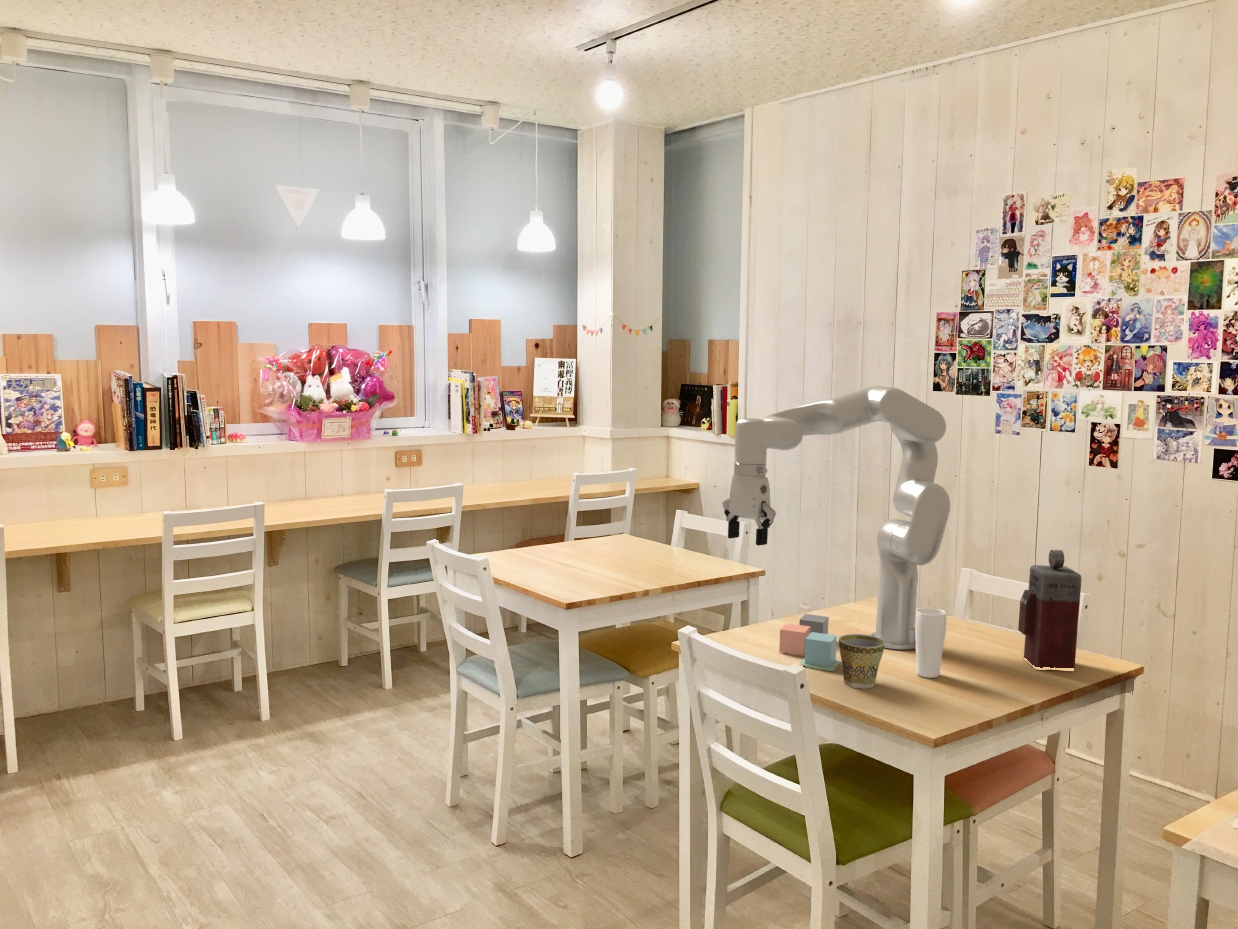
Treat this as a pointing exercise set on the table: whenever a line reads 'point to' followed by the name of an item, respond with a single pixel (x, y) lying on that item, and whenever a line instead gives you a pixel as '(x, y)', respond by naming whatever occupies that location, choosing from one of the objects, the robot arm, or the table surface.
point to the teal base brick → (820, 649)
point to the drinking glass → (929, 641)
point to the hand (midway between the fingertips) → (747, 541)
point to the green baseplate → (822, 666)
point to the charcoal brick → (815, 623)
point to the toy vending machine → (1051, 614)
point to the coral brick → (793, 639)
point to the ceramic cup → (860, 659)
